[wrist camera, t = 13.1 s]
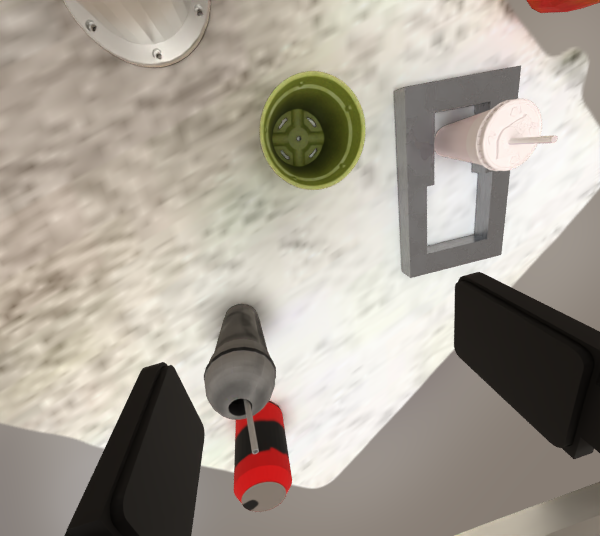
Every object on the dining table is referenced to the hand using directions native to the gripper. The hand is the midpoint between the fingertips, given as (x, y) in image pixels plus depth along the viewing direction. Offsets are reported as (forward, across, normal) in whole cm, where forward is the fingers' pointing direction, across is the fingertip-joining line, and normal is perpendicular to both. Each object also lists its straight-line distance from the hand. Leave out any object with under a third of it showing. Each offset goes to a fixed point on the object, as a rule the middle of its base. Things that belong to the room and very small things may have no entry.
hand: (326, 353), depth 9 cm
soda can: (+28, +10, +33) cm, 44 cm away
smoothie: (+28, -24, -2) cm, 37 cm away
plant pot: (+28, -6, -6) cm, 30 cm away
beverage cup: (+28, +7, +14) cm, 32 cm away
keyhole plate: (+28, -24, +2) cm, 37 cm away
